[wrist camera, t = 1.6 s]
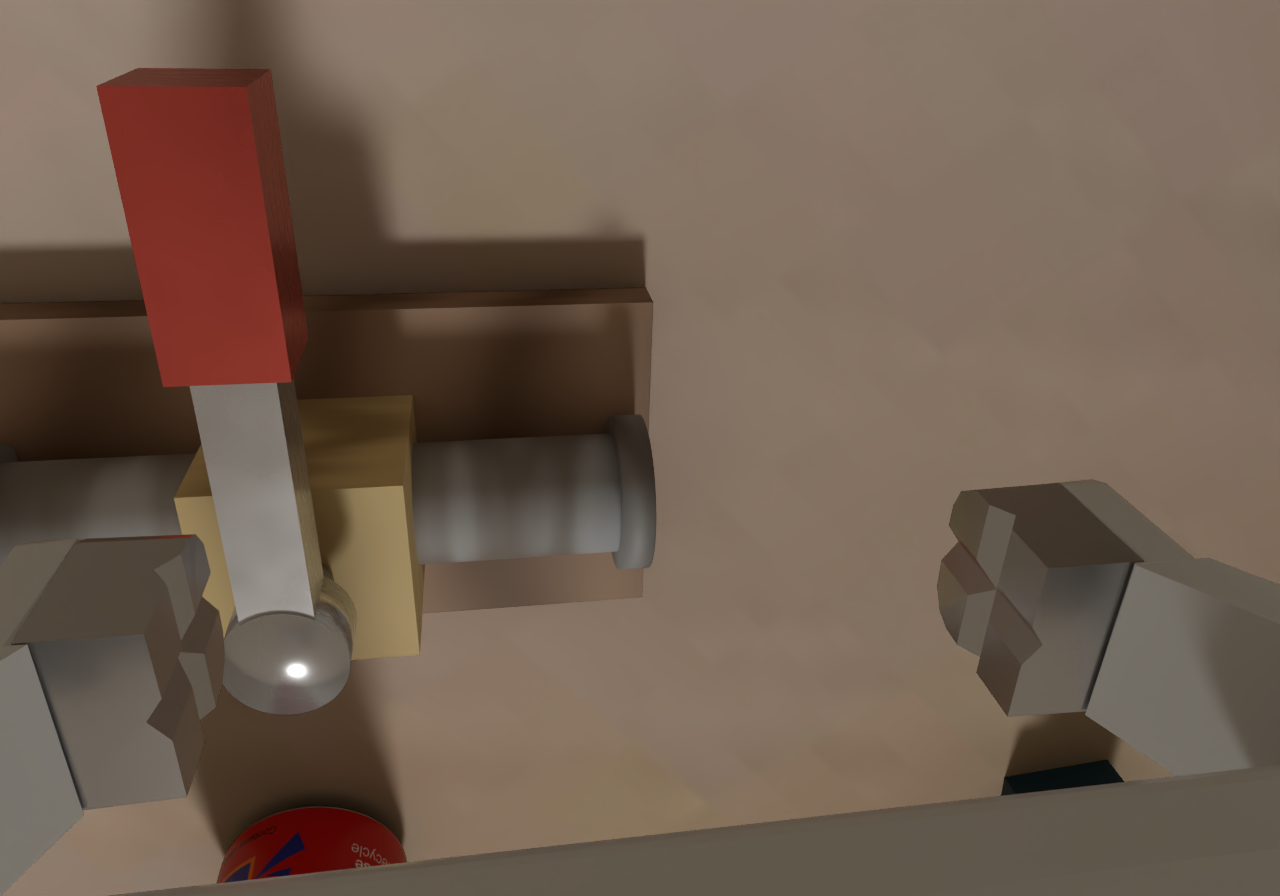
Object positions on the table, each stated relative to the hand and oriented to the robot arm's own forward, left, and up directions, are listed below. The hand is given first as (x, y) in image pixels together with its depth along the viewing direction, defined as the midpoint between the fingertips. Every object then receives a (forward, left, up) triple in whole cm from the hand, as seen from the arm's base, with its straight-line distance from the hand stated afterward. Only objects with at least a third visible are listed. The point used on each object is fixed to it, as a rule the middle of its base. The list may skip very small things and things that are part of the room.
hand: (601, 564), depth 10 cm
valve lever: (+6, +5, -14) cm, 16 cm away
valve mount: (+6, +11, -23) cm, 27 cm away
